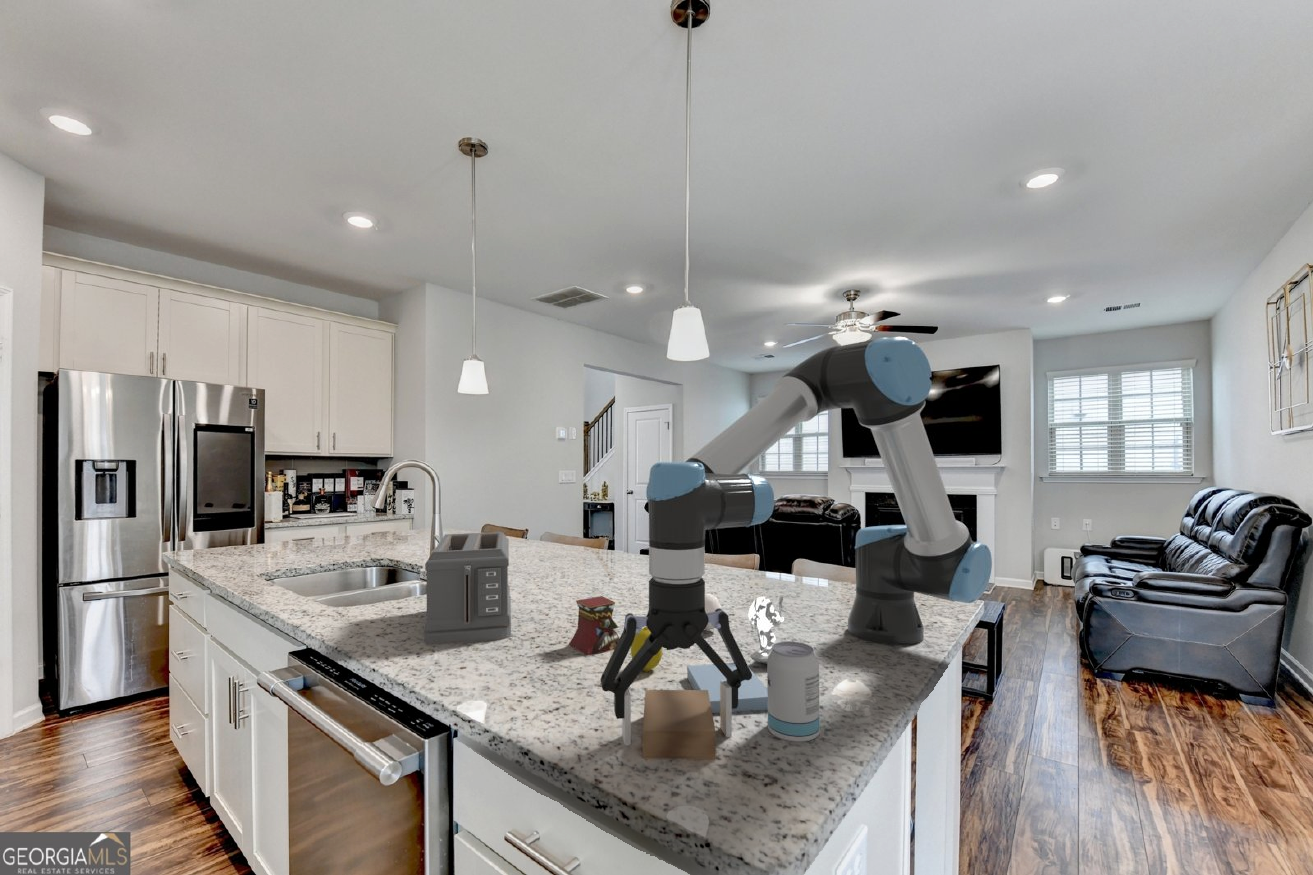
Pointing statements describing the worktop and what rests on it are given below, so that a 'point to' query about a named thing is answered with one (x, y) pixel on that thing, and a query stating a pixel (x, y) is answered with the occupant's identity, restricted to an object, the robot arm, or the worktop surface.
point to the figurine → (764, 625)
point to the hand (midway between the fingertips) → (676, 737)
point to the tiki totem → (595, 626)
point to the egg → (711, 607)
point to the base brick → (709, 677)
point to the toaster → (468, 589)
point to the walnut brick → (678, 725)
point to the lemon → (639, 642)
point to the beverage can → (793, 692)
